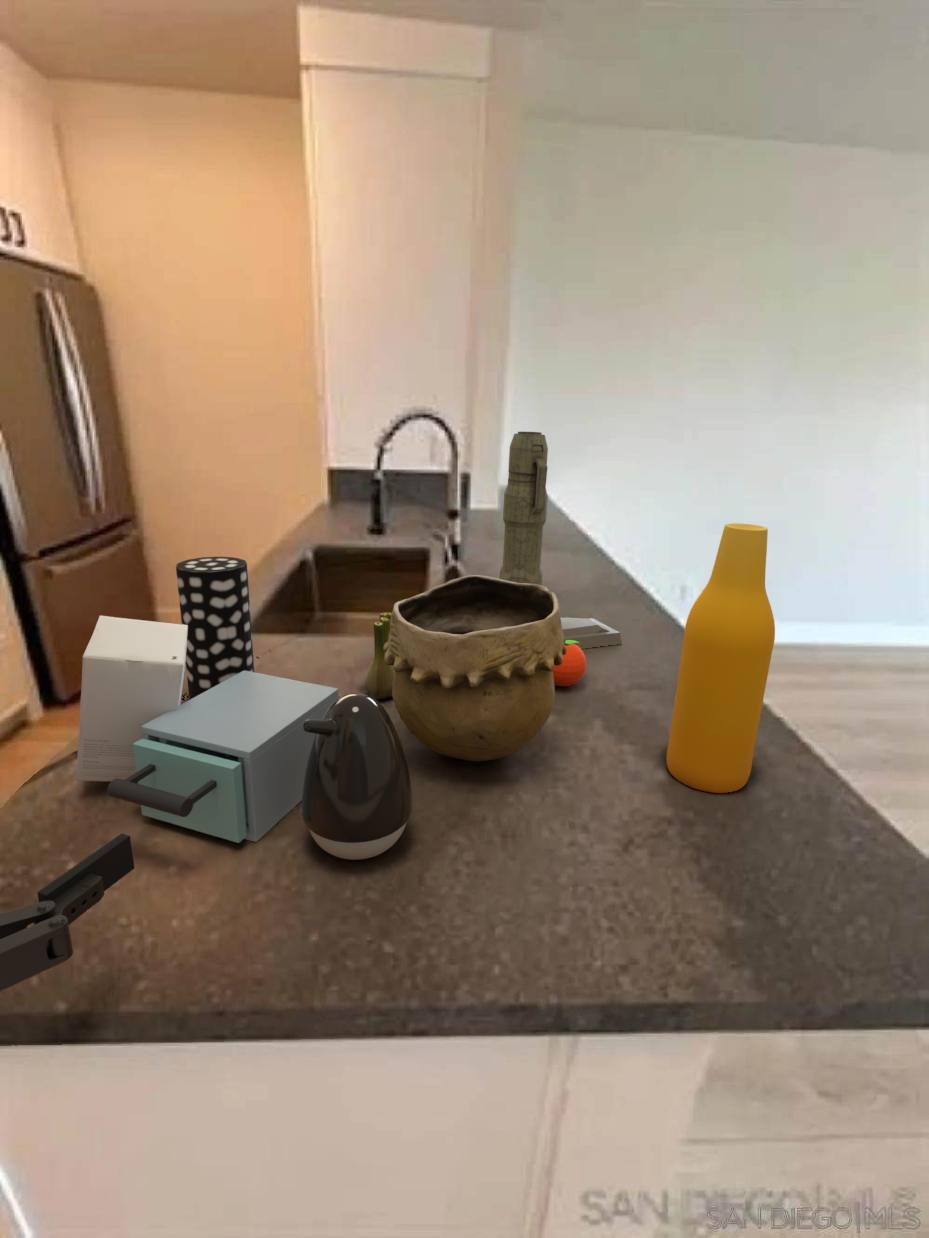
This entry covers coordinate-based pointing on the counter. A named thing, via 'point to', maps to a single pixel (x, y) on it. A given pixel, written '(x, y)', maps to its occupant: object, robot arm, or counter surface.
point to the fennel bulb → (380, 662)
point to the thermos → (525, 508)
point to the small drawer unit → (254, 736)
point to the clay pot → (475, 665)
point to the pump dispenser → (356, 780)
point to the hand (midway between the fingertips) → (57, 828)
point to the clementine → (570, 665)
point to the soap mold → (589, 632)
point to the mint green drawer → (187, 787)
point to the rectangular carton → (126, 691)
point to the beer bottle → (724, 668)
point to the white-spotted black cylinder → (215, 620)
